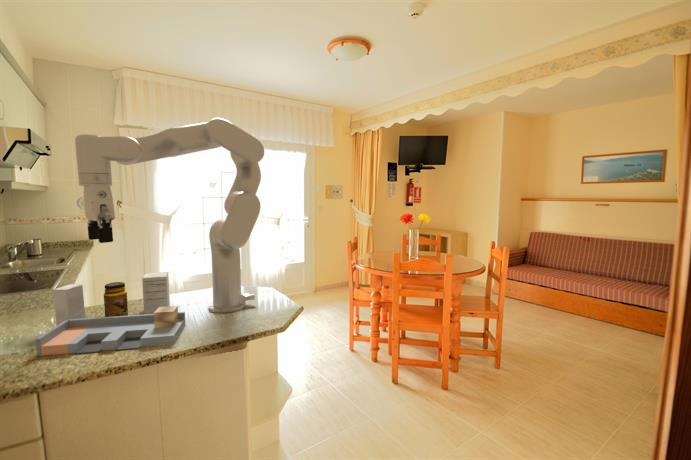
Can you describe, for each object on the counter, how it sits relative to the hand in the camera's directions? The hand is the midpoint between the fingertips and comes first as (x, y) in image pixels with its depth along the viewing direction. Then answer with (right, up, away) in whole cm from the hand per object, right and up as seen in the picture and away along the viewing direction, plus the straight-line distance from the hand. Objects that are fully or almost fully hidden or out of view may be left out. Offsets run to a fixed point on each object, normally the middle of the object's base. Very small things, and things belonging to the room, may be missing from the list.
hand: (100, 240), depth 94 cm
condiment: (-3, -26, +10) cm, 28 cm away
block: (+18, -24, +2) cm, 30 cm away
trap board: (+8, -27, -3) cm, 29 cm away
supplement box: (+5, -25, +20) cm, 32 cm away
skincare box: (-14, -26, +7) cm, 30 cm away
